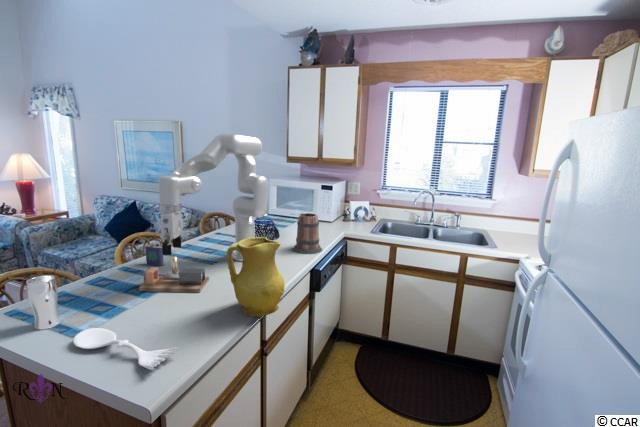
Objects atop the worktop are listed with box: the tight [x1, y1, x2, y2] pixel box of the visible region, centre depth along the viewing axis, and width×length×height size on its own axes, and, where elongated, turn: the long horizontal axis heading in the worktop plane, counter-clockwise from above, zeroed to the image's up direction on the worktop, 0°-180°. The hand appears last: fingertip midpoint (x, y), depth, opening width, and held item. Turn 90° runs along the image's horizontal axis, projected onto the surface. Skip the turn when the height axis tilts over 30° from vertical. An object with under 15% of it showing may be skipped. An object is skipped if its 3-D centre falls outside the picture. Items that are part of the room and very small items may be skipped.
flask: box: [145, 242, 165, 267], centre depth 152 cm, size 9×3×11 cm, turn 74°
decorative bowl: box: [254, 213, 280, 241], centre depth 205 cm, size 20×20×14 cm
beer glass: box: [25, 274, 61, 331], centre depth 100 cm, size 7×7×15 cm
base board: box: [138, 275, 210, 293], centre depth 132 cm, size 23×12×2 cm, turn 92°
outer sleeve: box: [178, 267, 206, 285], centre depth 131 cm, size 8×5×5 cm, turn 92°
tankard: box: [292, 212, 323, 255], centre depth 185 cm, size 24×17×20 cm
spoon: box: [72, 327, 180, 371], centre depth 89 cm, size 9×32×4 cm, turn 69°
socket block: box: [143, 267, 160, 284], centre depth 130 cm, size 4×5×5 cm
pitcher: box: [226, 236, 285, 318], centre depth 114 cm, size 17×19×25 cm
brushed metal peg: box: [162, 255, 203, 280], centre depth 130 cm, size 15×3×10 cm, turn 92°
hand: (172, 251), depth 128 cm, fingers open, 9 cm apart
